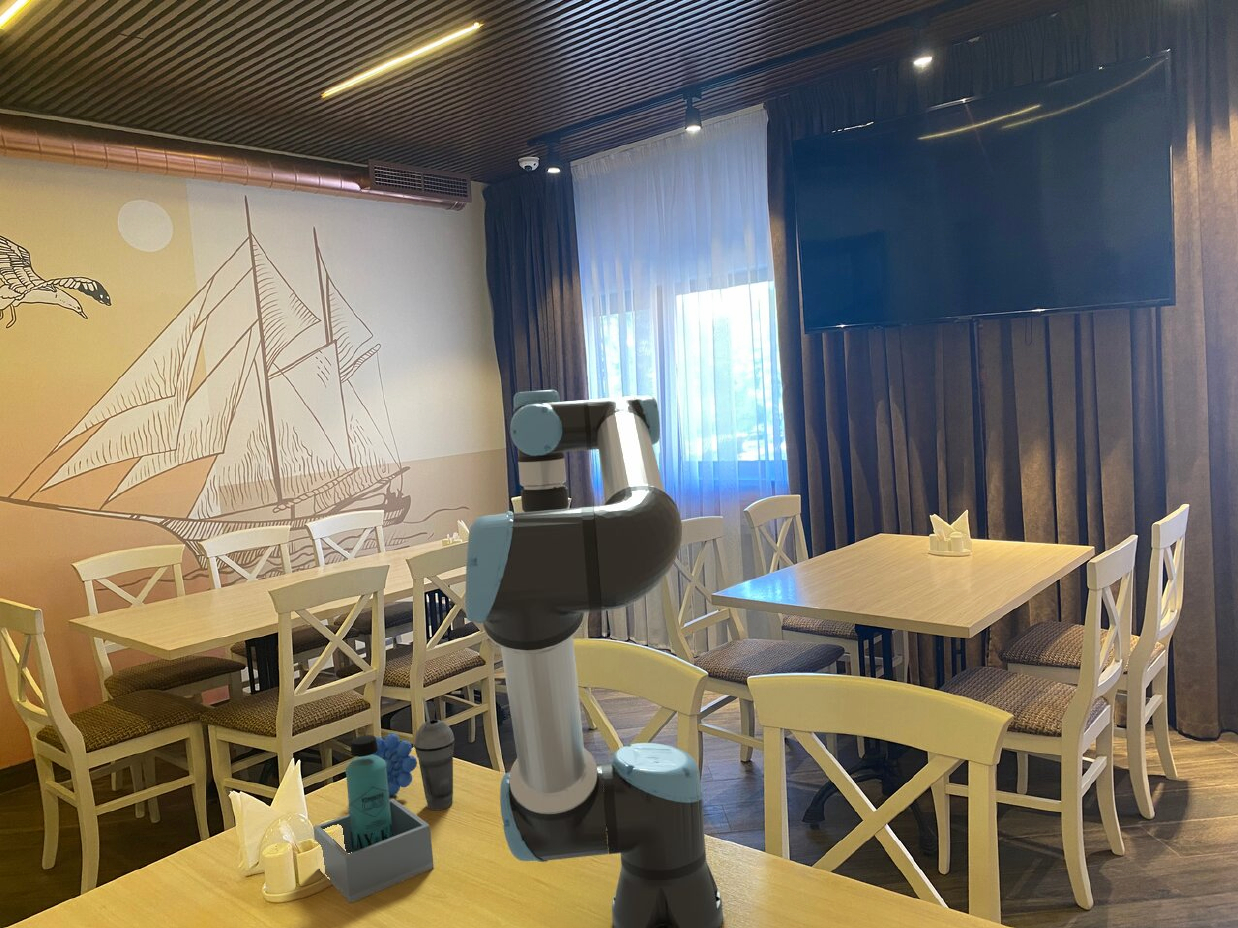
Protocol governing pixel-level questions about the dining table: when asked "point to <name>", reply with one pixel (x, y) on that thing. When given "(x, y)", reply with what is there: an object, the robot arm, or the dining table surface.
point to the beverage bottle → (368, 794)
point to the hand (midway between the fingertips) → (554, 615)
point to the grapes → (396, 761)
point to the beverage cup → (436, 761)
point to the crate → (377, 855)
